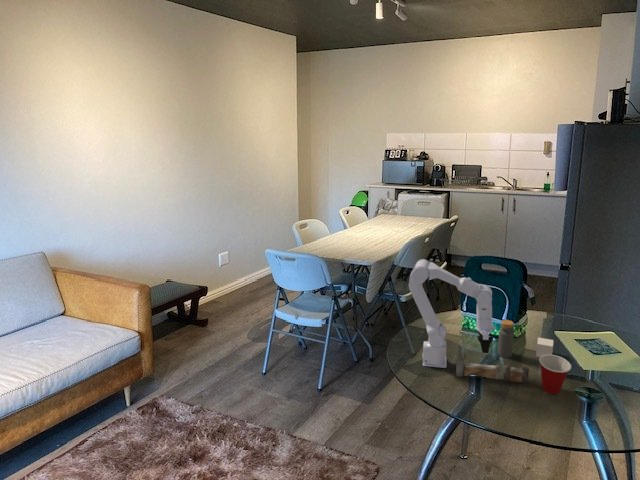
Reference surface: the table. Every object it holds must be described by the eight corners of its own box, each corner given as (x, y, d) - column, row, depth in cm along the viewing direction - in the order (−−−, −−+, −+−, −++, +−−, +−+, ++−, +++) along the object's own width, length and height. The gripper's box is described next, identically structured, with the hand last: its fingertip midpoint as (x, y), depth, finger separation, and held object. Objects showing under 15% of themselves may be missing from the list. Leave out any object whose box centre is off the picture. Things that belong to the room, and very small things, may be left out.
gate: (464, 376, 194) (465, 364, 193) (464, 373, 196) (464, 362, 194) (498, 379, 191) (499, 367, 190) (497, 377, 193) (498, 365, 191)
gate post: (455, 376, 194) (456, 363, 193) (455, 372, 197) (456, 360, 195) (463, 377, 194) (464, 364, 192) (463, 373, 196) (463, 360, 195)
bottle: (513, 358, 206) (516, 325, 202) (498, 357, 207) (501, 324, 203) (510, 351, 212) (513, 319, 207) (496, 350, 213) (499, 318, 209)
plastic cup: (554, 402, 177) (558, 372, 174) (529, 387, 186) (532, 359, 183) (574, 393, 182) (578, 364, 178) (549, 379, 191) (552, 351, 188)
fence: (503, 381, 190) (504, 368, 189) (502, 377, 193) (503, 364, 191) (528, 383, 188) (529, 370, 187) (527, 380, 191) (528, 367, 189)
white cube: (535, 356, 207) (537, 343, 206) (536, 350, 212) (537, 337, 211) (551, 359, 205) (553, 346, 203) (552, 352, 210) (553, 339, 208)
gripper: (496, 324, 185) (497, 357, 188) (493, 308, 198) (493, 339, 202) (477, 324, 186) (477, 356, 190) (475, 308, 200) (475, 339, 204)
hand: (484, 347), depth 196 cm, fingers open, 7 cm apart
